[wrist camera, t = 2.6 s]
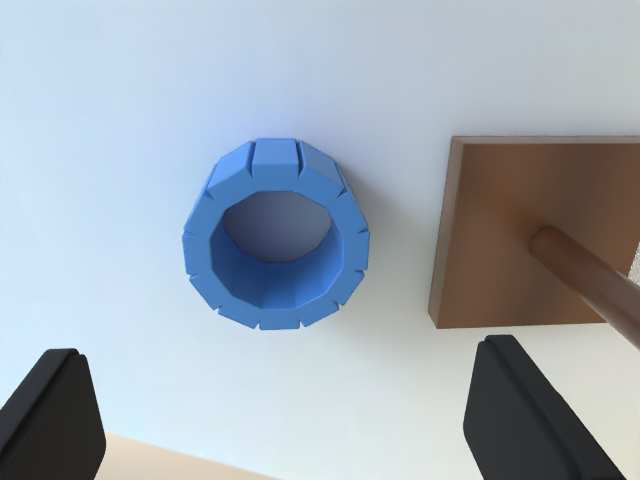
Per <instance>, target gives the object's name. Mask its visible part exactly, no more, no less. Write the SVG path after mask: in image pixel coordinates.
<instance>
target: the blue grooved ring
mask: <svg viewBox="0 0 640 480" xmlns="http://www.w3.org/2000/svg"><path fill="white" fill-rule="evenodd" d="M275 191H295V192H297V193H299V194H301V195H303V196H305V197H306V198H308V199H310V200H312V201H314V202H316V203H318V204H319V205H321V206H323V207H325V208H326V209H327V211H328V212H329V214H330V216H331V228H330V230H329V231H328V233H327V234H326V236H325V238H324V239H323V241H322V242H321V244H320V245H319V247H318V248H317V249H316V250H315V251H313V252H311V253H309V254H307V255H305V256H303V257H302V258H300V259H298V260H296V261H294V262H285V263H264V262H262V261H260V260H258V259H256V258H254V257H252V256H250V255H248V254H246V253H243V252H241V251H240V250H239V248H238V247H237V246H236V244H235V243H234V242H233V240H232V239H231V237H230V236H229V235H228V233H227V232H226V230H225V229H224V218H223V215H224V213H225V211H226V209H228V208H230V207H232V206H233V205H235V204H237V203H239V202H240V201H242V200H244V199H246V198H247V197H249V196H251V195H253V194H254V193H256V192H275ZM367 227H368V224H367V222H366V220H365V218H364V216H363V213H362V211H361V209H360V207H359V205H358V202H357V200H356V198H355V196H354V194H353V192H352V190H351V188H350V186H349V184H348V183H347V181H346V179H345V177H344V175H343V174H342V172H341V170H340V168H339V166H338V165H337V163H334V162H333V160H332V158H331V157H329V156H327V155H325V154H324V153H322V152H320V151H318V150H317V149H315V148H313V147H312V146H310V145H308V144H306V143H305V142H303V141H299V143H298V145H297V147H296V141H295V139H257V142H256V146H255V145H254V143H253V142H252V141H249V142H248V143H246V144H244V145H243V146H241V147H239V148H238V149H236V150H234V151H232V152H231V153H229V154H227V155H226V156H224V157H222V158H221V159H220V160H219V163H218V164H215V165H214V167H213V169H212V171H211V173H210V175H209V177H208V179H207V181H206V183H205V185H204V187H203V189H202V191H201V193H200V195H199V197H198V199H197V201H196V203H195V205H194V207H193V209H192V211H191V214H190V216H189V218H188V220H187V222H186V224H185V226H184V230H185V232H184V234H183V236H182V241H183V250H184V258H185V266H186V273H187V274H191V276H190V279H189V281H190V282H191V283H192V285H193V286H194V287H195V288H196V290H197V291H198V292H199V293H200V295H201V296H202V297H203V298H204V300H205V301H206V302H207V303H208V305H209V306H210V307H211V308H212V309H213V310H215V309H217V308H219V311H218V314H220V315H222V316H224V317H227V318H229V319H231V320H234V321H236V322H238V323H241V324H243V325H245V326H248V327H250V328H252V329H254V328H255V327H256V326H257V324H258V323H259V327H260V330H279V329H299V327H300V321H301V323H302V324H303V325H304V327H307V326H309V325H311V324H313V323H315V322H317V321H319V320H320V319H322V318H324V317H326V316H328V315H330V314H332V313H334V312H336V311H338V310H339V306H338V303H339V304H341V305H344V304H345V303H346V301H347V300H348V299H349V297H350V296H351V294H352V293H353V292H354V290H355V289H356V287H357V286H358V284H359V283H360V282H361V280H362V279H363V277H364V272H363V270H367V267H368V252H369V237H370V233H369V230H368V228H367Z"/></svg>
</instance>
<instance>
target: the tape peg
mask: <svg viewBox="0 0 640 480" xmlns="http://www.w3.org/2000/svg"><path fill="white" fill-rule="evenodd" d="M639 242H640V136H453V137H452V140H451V147H450V155H449V162H448V169H447V177H446V184H445V191H444V199H443V206H442V213H441V221H440V228H439V235H438V243H437V250H436V257H435V265H434V272H433V279H432V287H431V294H430V301H429V309H428V313H429V315H430V317H431V319H432V321H433V322H434V324H435V326H436V328H437V329H452V328H479V327H506V326H533V325H560V324H587V323H609V324H610V325H611V326H613V327H614V328H615V329H616V330H617V331H618V332H619V333H620V334H622V335H623V336H624V337H625V338H626V339H627V340H628V341H629V342H631V343H632V344H633V345H634V346H635V347H636V348H637V349H638V350H640V286H638V285H637V284H636V283H634V282H633V281H631V280H630V279H629V278H628V275H629V272H630V269H631V266H632V263H633V260H634V257H635V254H636V251H637V248H638V245H639Z"/></svg>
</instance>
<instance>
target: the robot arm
mask: <svg viewBox="0 0 640 480" xmlns="http://www.w3.org/2000/svg"><path fill="white" fill-rule="evenodd" d="M463 430H464V436H465V439H466V441H467V443H468V445H469V448H470V450H471V452H472V454H473V457H474V459H475V461H476V463H477V465H478V468H479V470H480V472H481V474H482V476H483V479H484V480H626V478H625V477H624V476H623V475H622V473H621V472H620V471H619V469H618V468H617V467H616V466H615V464H614V463H613V462H612V460H611V459H610V458H609V457H608V455H607V454H606V453H605V451H604V450H603V449H602V448H601V446H600V445H599V444H598V442H597V441H596V440H595V439H594V437H593V436H592V435H591V433H590V432H589V431H588V430H587V428H586V427H585V426H584V424H583V423H582V422H581V421H580V419H579V418H578V417H577V415H576V414H575V413H574V411H573V410H572V409H571V408H570V406H569V405H568V404H567V402H566V401H565V400H564V399H563V397H562V396H561V395H560V394H559V393H558V392H557V391H556V390H555V389H554V388H553V386H552V385H551V384H550V382H549V381H548V380H547V379H546V377H545V376H544V375H543V373H542V372H541V371H540V369H539V368H538V367H537V366H536V364H535V363H534V362H533V360H532V359H531V358H530V357H529V355H528V354H527V353H526V351H525V350H524V349H523V348H522V346H521V345H520V344H519V342H518V341H517V340H516V338H515V337H514V336H513V335H510V334H509V335H488V336H486V338H485V340H484V341H481V342H479V344H478V347H477V352H476V357H475V363H474V368H473V373H472V379H471V384H470V390H469V395H468V400H467V406H466V411H465V416H464V422H463ZM105 450H106V438H105V434H104V429H103V425H102V421H101V417H100V412H99V408H98V404H97V400H96V395H95V391H94V387H93V383H92V378H91V374H90V370H89V366H88V361H87V358H86V356H85V355H83V354H81V355H79V352H78V351H77V349H74V348H69V349H49V350H47V351H45V352H44V354H43V355H42V356H41V357H40V359H39V360H38V361H37V363H36V364H35V365H34V367H33V368H32V369H31V371H30V372H29V373H28V375H27V376H26V377H25V378H24V380H23V381H22V382H21V384H20V385H19V386H18V388H17V389H16V390H15V392H14V393H13V394H12V395H11V397H10V398H9V399H8V401H7V402H6V403H5V405H4V406H3V407H2V409H1V410H0V480H94V478H95V476H96V473H97V471H98V469H99V467H100V464H101V462H102V459H103V457H104V454H105Z"/></svg>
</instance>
